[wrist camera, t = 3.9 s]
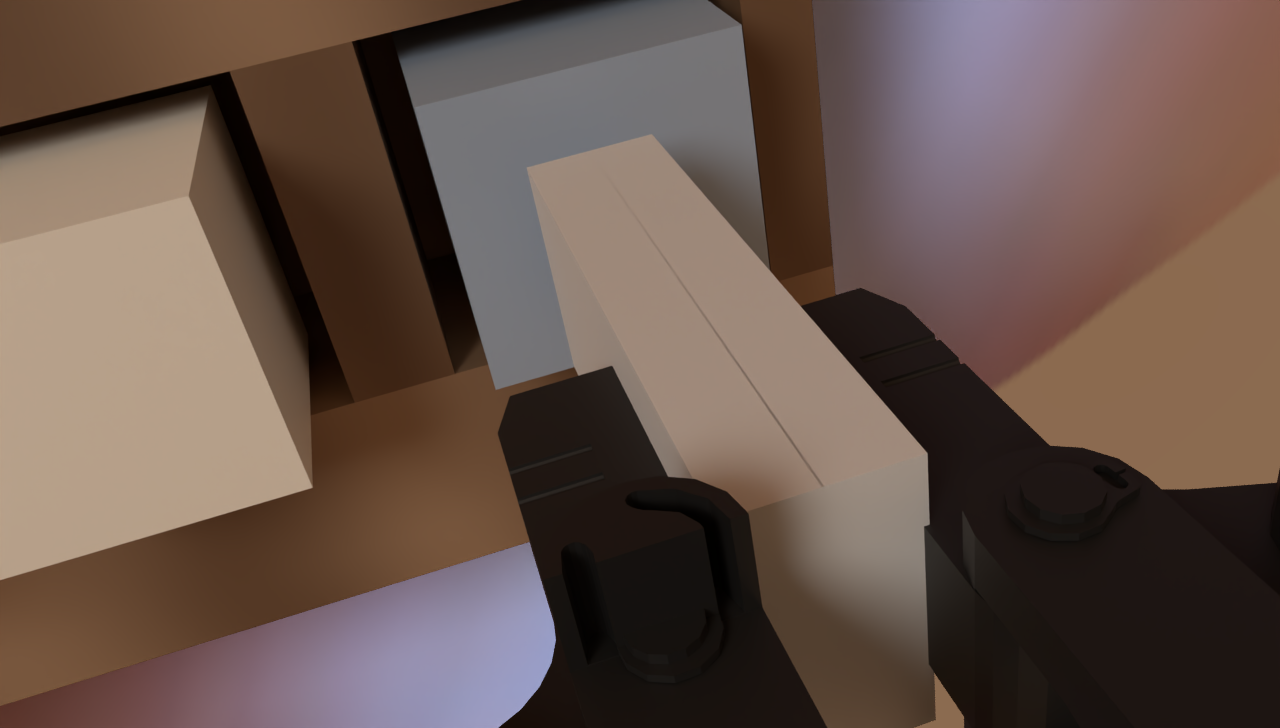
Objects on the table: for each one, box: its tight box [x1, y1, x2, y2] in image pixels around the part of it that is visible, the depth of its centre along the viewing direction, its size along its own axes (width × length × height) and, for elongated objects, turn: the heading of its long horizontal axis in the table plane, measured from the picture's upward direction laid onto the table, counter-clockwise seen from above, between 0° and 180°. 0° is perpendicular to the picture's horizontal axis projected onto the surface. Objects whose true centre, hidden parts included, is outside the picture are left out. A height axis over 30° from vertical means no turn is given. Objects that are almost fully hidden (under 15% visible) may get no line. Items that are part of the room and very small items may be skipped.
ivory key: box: [0, 85, 313, 580], centre depth 14 cm, size 4×4×4 cm
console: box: [0, 0, 835, 706], centre depth 17 cm, size 20×12×5 cm, turn 100°
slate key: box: [391, 0, 770, 390], centre depth 16 cm, size 4×4×4 cm
